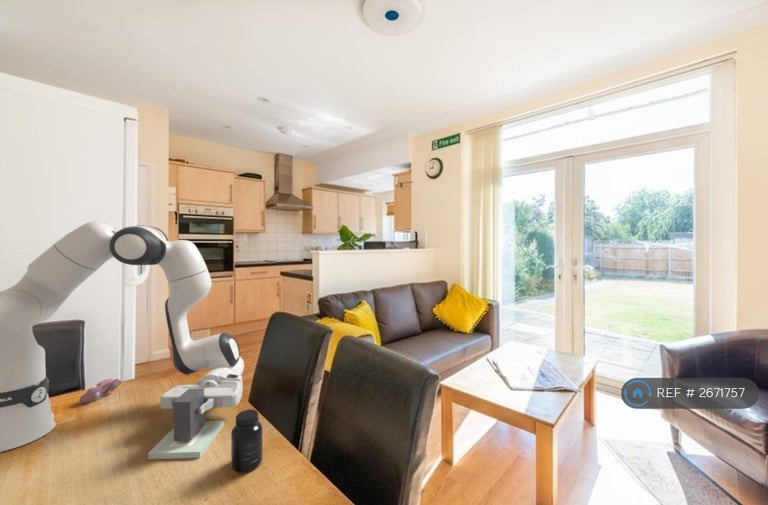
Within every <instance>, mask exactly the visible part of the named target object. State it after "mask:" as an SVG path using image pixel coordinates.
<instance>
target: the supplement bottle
mask: <svg viewBox="0 0 768 505" xmlns="http://www.w3.org/2000/svg"><path fill="white" fill-rule="evenodd" d="M230 436H231V437H230V438H231V439H230V443H231V444H230V447H231V448H230V451H231V452H230V454H231V456H230V458H231V459H230V460H231V461H230V462H231V464H230V465H231V469H232V470H233V471H234V472H235V473H237V474H247V473H249V472H252V471H254V470H256V468H258V467H259V466H260V465H261V463H262V461H263V424H262V422H260V420H259V412H258V410H256V409H252V408H251V409H250V408H249V409H245V410H242V411H240V412H239V413H237V415H236V417H235V425H234V426H233V428H232V430H231V433H230Z"/></svg>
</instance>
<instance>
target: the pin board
mask: <svg viewBox="0 0 768 505" xmlns="http://www.w3.org/2000/svg"><path fill="white" fill-rule="evenodd" d="M224 423H225V421H224V420H205V424H204V426H203V427H202V428H201V429H200V430H199V431H198V433H197V434H196V435H195V436H194V437H193V439H192V440H191V441H174V427H173V428H172V429H171V430H170V431H169V432H168V433H167V434H166V435H164V437H162V439H161V440H160V441H159V442H158V443H156V445H155V446H154V447H153V448H152V449H151V450H150V451H149V452H148V453H147V459H148V460H174V459H177V460H178V459H200V458H201V457H203V455H204V453H205V452H206V451H207V449H208V448H209V446H210V445H211V444H212V442H213V441H214V440H215V438H217V436H218V434H219V433H220V432H221V430H222V429H223V428H224V427H225V426H224V425H225V424H224Z"/></svg>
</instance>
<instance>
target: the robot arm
mask: <svg viewBox="0 0 768 505" xmlns="http://www.w3.org/2000/svg"><path fill="white" fill-rule="evenodd" d="M112 258H114V259H116V260H117V261H118V262H121V263H122V264H125V265H130V266H156V265H158V266H159V267H160V268H161V269H162V271H163V273H164V275H165V277H166V280H167V283H168V285H169V295H168V298H167V299H166V300H165V302H164V310H165V317H166V323H167V328H168V333H169V338H170V343H171V347H172V363H173V366H174V368H175V369H176V371H177V372H179V373H181V374H183V375H185V376H190V375H192V374H195V373H198V372H200V371H202V370H206V369H209V370H208V371H207V372H206V373H205V374H204V375H203V376H201V377H200V378H199V379H198V380H197V381H196V383H195V384H180V385H176V386H174V387H172V388H170V389H169V390H167V391H166V392H164V393H162V395H161V396H160V407H161V409H163V410H170V409H171V410H172V409H173V402H174V401H175V400H176V399H178V398H179V397H180V396H181V395H182V394H183V393H184V392H186V391H187V390H188V389H199V388H204V404H202V405H198V407H196V414H203V413H204V414H205V412H206V411H209V410H211V409H215V408H216V409H217V408H234V407H236V406H237V405H238V404H239V403H240V401H241V399H242V396H243V389H244V388H243V386H244V384H243V376H242V375H243V372H244V368H245V362H244V359H243V358H242V357H241V351H240V346H239V344H238V342H237V340H236V338H234V337H233V336H232V335H230V334H229V333H227V332H221V333H218V334H212V335H210V336H207V337H203V338H201V339H197V340H193V339H192V338H191V334H190V329H189V323H188V319H187V317H188V316H187V315H188V312H189V311H190V309H192V308H193V307H194V306H196V305H197V304H199V302H201V301H202V300H204V299H205V298H206V297H207V296H208V294H210V292H211V289H212V286H213V285H212V284H213V283H212V278H211V274H210V272H209V270H208V266H207V264H206V262H205V260H204V258H203V256H202V253H201V252H200V250H199V248H197V246H196V245H195V244H194V243H193V241H190V240H186V239H178V240H172V241H170V240H169V239H168V236H167V234H165V233H164V232H163V231H162V230H161V229H160V228H158V227H156V226H152V225H151V226H150V225H140V224H139V225H134V226H127V227H123V228H122V229H121V228H120V229H119V230H118V229H116V228H114V227H113V226H111V225H110V224H108V223H104V222H102V221H96V220H95V221H88V222H86V223H84V224H82V225H80V226H78V227H77V228H75V229H73V230H72V231H70V232H68V233H66V234H65V235H63V236H62V237H61V238H60V239H59V240H57V241H56V242H55V243H54V244H52V245H51V246H50V247H49V248H48V249H46V250H45V251H44V252H43V253H41V254H40V255H39V256H37V257H36V258H35V259H34V260H33V261H32V262H30V263H29V264H28V265H27V267H26V269H27V270H26V272H25V273H24V275H22V277H21V279H20V280H19V281H17V283H16V284H14V285H13V286H11V287H9V288H8V289H4V290H3V291H0V453H2V452H5V451H9V450H12V449H15V448H18V447H22V446H24V445H27V444H29V443H32V442H35V441H36V440H38V439H40V438H43V436H45V435H47V434H49V433H50V432H51V431H53V429H55V427H56V426H57V424H56V421H55V414H54V412H52V407H51V403H50V397H49V393H48V392H49V389H50V388H49V382H50V380H49V377H48V376H47V375H46V374H47V373H46V372H47V371H46V350H45V347H43V346H41V345H40V344H39V343H38V342H37V340H36V337H35V335H34V332H33V327H34V326H36V325H39V324H41V323H43V322H45V321H47V320H48V319H49V318H50V317H52V316H53V315H55V314H56V312H57V311H58V309H59V308H60V307H61V306H62V305H63V304H64V302H66V300H67V299H68V297H69V296H70V295H71V294H72V293H73V292H74V291H75V289H77V288H78V287H79V286H80V285H81V284H82V283H84V282H85V281H86V280H87V279H88V278H90V277H91V275H93V274H94V273H96V271H98V270H99V269H100V268H101V267H102V266H103V265H104V264H105V263H106V262H108V261H109V260H111V259H112Z"/></svg>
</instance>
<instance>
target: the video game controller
mask: <svg viewBox="0 0 768 505" xmlns="http://www.w3.org/2000/svg"><path fill="white" fill-rule="evenodd" d="M121 384H122V380H120V379H119V378H115V377H112V378H108V379H104V380H102V381H100V382H98V383H97V384H95V385H92V387H90V388H89V389H88V390H87V391H86V392H85V393H84V394H82V395H81V396H80V397H79V403H80V404H86V403H88V402H90V401H91V400H94V401H95V402H97V401H99V400H101V399H102V398H103V397H104V396H106V397H108V396H110V395H111V394H112V393H113V392H114V391H115V390H117V388H119V387H120V385H121ZM103 395H104V396H103Z"/></svg>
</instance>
